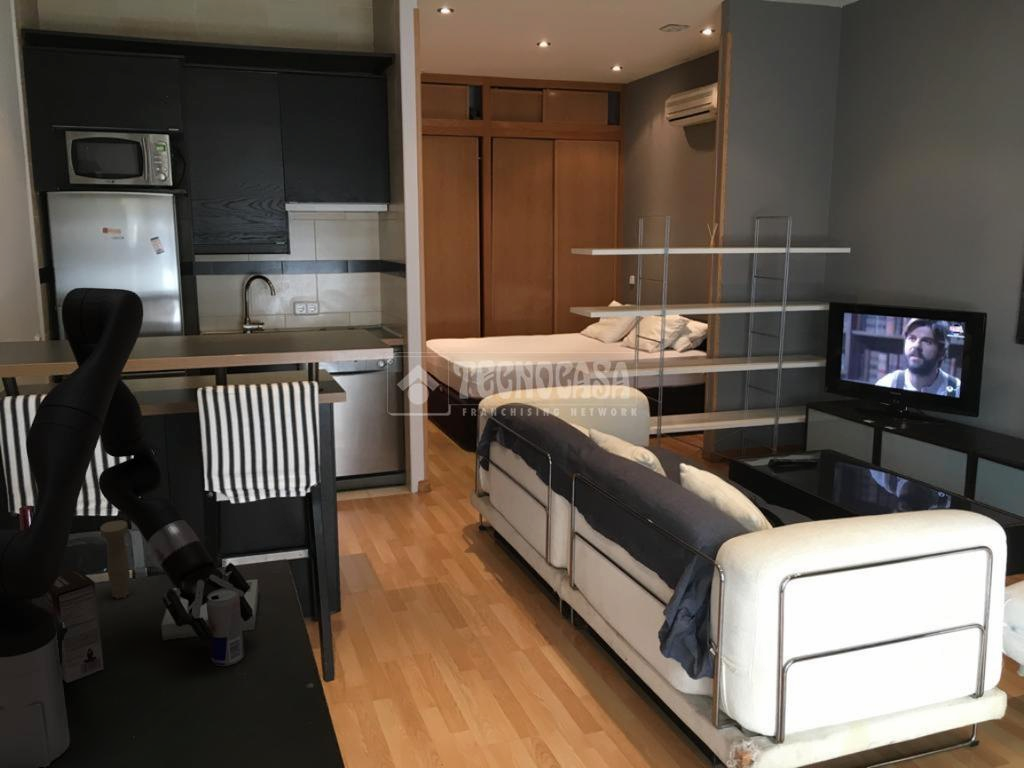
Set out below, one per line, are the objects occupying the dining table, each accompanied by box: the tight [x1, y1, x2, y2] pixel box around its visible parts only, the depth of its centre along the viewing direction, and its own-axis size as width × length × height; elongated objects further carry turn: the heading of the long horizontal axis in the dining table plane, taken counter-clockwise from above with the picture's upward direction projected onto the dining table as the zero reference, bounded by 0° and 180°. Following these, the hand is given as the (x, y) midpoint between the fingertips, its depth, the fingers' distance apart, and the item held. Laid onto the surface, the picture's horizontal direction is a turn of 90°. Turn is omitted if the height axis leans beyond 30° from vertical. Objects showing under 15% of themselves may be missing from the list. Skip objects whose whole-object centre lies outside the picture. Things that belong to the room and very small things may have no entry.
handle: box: [99, 519, 131, 600], centre depth 169 cm, size 5×6×15 cm
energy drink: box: [206, 588, 245, 667], centre depth 144 cm, size 5×5×12 cm
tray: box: [160, 578, 259, 641], centre depth 161 cm, size 16×16×3 cm
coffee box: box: [47, 566, 105, 684], centre depth 142 cm, size 9×6×16 cm
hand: (230, 628), depth 144 cm, fingers open, 8 cm apart
